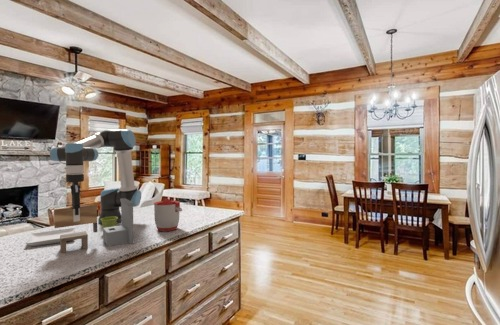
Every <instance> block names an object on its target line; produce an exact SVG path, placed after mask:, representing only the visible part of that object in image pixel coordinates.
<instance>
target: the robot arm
mask: <svg viewBox="0 0 500 325" xmlns="http://www.w3.org/2000/svg"><path fill="white" fill-rule="evenodd" d="M136 142H137V140H136V136H135V134H134V132H133V131H132V130H131V129H123V128H122V129H120V128H119V129H118V128H117V129H105V130H101V131H97V132H95V133H92V134H90V135H89V136H88V137H86V138H84V139H81V140H77V141H75V142H66V143H65V146H61V147H60V146H57V147H53V148H51V149H50V151H49V157H50V159H51V160H52V161H54V162H59V163H60V162H65V167H64V168H63V169H64V170H65V173H66V175H65V180H66V181H65V182H66V183H71V185H70V193H71V207H73V208H72V209H73V222H77V221H80V206H81V185H80V184H79V183H81V182H84V181H85V174H84V173H85V168H84V167H85V166H84V162H94V161H96V160H97V159H98V158H99V151H98V150H97V149H101V148H113V151H114V152H115V153H116V154H117V157H116V158H117V162H118V164H117V166H118V173H119V180H120V181H119V182H120V188H118V187H116V188H115V187H114V188H108V189H103V190H101V191H100V213H99V216H98V218H97V224H100V225H102V221H101V218H104V217H118V219H117V221H116V224H118V223H121V211H120V210H121V209H120V208H121V202H120V199H124V198H125V199H127V200H129V201H131V202H134V206H133V208H135V207H138V206H139V204H140V203H141V200H142V192H141V190H140V189H138V186H137V185H136V184H135V178H134V167H133V159H132V150H134V147H135V146H136Z"/></svg>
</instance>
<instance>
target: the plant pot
mask: <svg viewBox="0 0 500 325" xmlns="http://www.w3.org/2000/svg"><path fill="white" fill-rule="evenodd" d="M117 219H118V217H104V218H101V221H102V224H101V225H102V229H103V228H106V227H113V226H117V223H116V221H117Z"/></svg>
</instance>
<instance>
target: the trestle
mask: <svg viewBox="0 0 500 325" xmlns="http://www.w3.org/2000/svg"><path fill="white" fill-rule="evenodd" d="M74 240H81V244H80V245H81V247H82V249H83V250H88V248H89V244H88V243H89V241H88V240H89V239H88V233H87V232H86V230H85V231H80V232H79V231H77V232H75V233H70V234H64V235H60V253H61V254H63V253H67V242H69V241H74Z"/></svg>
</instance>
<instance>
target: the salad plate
mask: <svg viewBox="0 0 500 325" xmlns="http://www.w3.org/2000/svg"><path fill="white" fill-rule="evenodd" d="M70 233H76V228H75V227H73V228H72V227H71V228H64V229H63V228H62V229H56V230H48V231H41V232H33V233H31V234H29V237H28V239H27V240H26V241H25V244H26V245H28V246H32V247H36V246H37V247H39V246H44V245H52V244H58V243H60V235H64V234H70Z"/></svg>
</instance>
